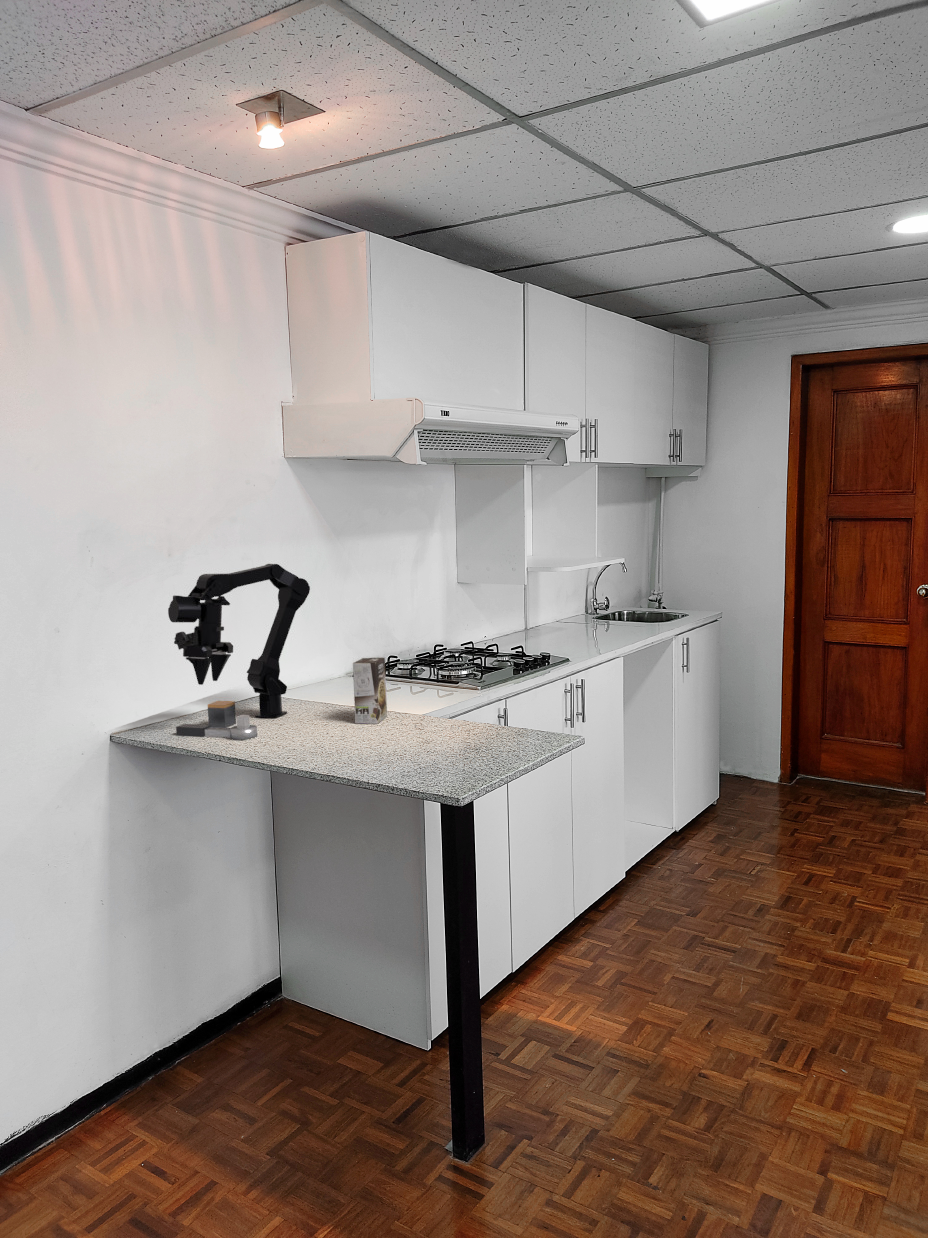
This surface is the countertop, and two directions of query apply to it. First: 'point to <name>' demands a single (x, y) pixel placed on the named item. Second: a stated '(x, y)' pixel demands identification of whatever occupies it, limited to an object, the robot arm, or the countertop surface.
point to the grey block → (221, 714)
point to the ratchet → (220, 730)
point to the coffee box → (370, 690)
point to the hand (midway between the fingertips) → (207, 682)
